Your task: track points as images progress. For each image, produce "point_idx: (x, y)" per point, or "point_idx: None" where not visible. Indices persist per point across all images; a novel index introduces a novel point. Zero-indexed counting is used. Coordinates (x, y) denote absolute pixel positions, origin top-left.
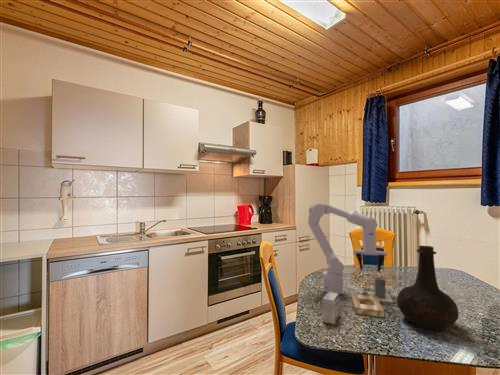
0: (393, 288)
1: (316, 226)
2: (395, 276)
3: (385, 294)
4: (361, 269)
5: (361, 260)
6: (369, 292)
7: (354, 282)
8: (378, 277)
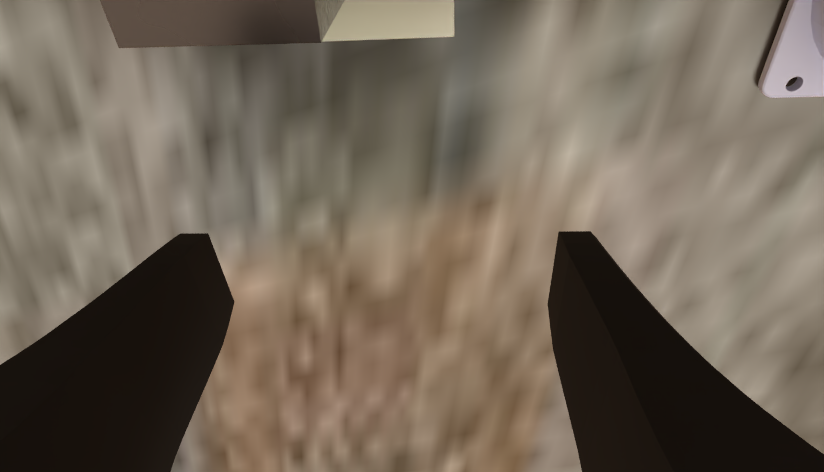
0: None
1: None
2: (205, 467)
3: None
4: (581, 238)
5: (673, 439)
6: (430, 5)
7: None
8: (216, 30)
